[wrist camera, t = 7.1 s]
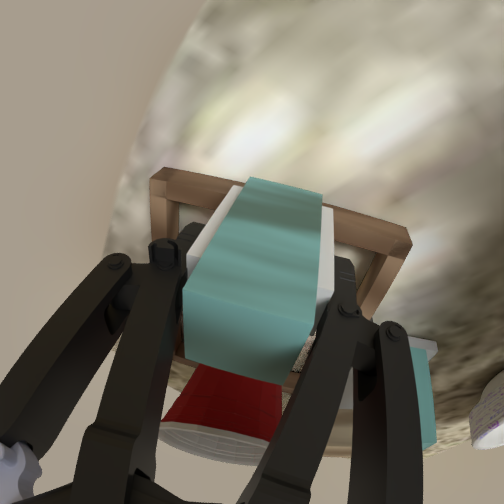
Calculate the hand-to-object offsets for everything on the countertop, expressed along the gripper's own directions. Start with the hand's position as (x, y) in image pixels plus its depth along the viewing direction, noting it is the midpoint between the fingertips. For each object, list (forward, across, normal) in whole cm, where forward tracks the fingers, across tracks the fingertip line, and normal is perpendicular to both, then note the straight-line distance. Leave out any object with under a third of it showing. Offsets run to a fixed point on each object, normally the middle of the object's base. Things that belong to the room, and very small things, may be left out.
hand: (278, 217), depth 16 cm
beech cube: (+1, +13, -26) cm, 29 cm away
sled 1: (+2, 0, -9) cm, 9 cm away
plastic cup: (+3, 0, -15) cm, 15 cm away
